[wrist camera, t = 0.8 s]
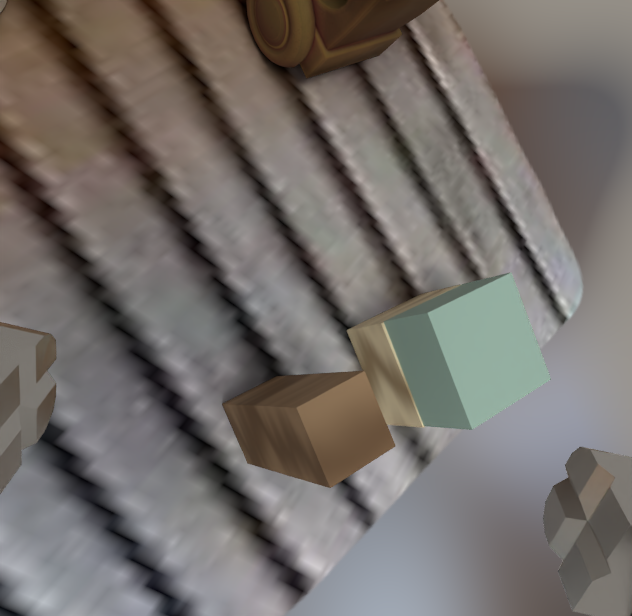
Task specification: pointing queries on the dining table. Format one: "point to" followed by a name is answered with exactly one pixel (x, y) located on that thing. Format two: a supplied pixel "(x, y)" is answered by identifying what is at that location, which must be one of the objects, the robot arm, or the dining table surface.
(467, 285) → the upper block
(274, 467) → the walnut post
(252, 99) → the dining table surface
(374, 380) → the lower block
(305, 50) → the wooden toy train
